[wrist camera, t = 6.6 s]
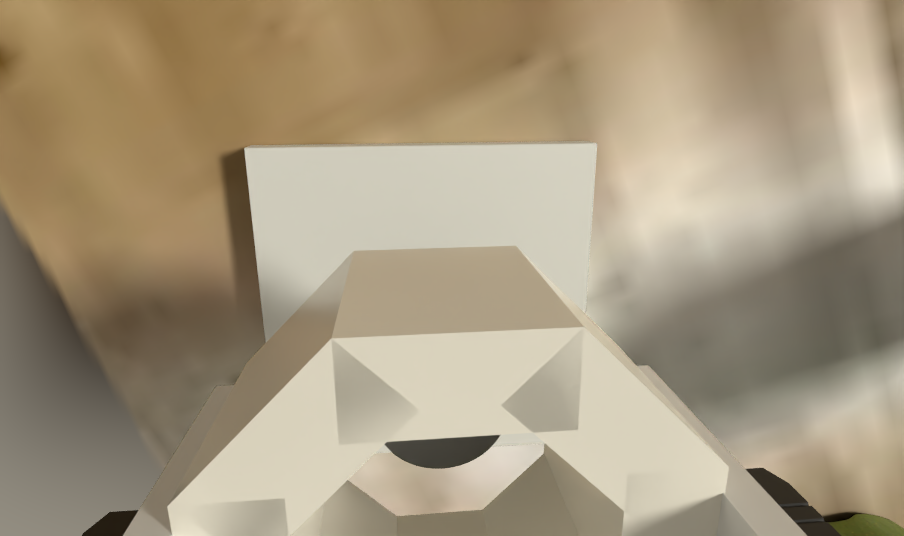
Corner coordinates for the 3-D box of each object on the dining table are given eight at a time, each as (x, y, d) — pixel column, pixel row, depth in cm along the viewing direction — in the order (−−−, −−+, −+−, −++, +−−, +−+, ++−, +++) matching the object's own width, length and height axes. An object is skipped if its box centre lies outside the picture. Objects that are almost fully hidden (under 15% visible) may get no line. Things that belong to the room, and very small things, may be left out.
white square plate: (251, 145, 20) (160, 178, 12) (588, 140, 21) (695, 168, 13) (283, 443, 24) (227, 612, 16) (570, 428, 25) (647, 579, 17)
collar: (233, 254, 13) (139, 346, 8) (625, 242, 14) (750, 319, 9) (272, 580, 15) (218, 798, 11) (600, 553, 16) (687, 743, 11)
